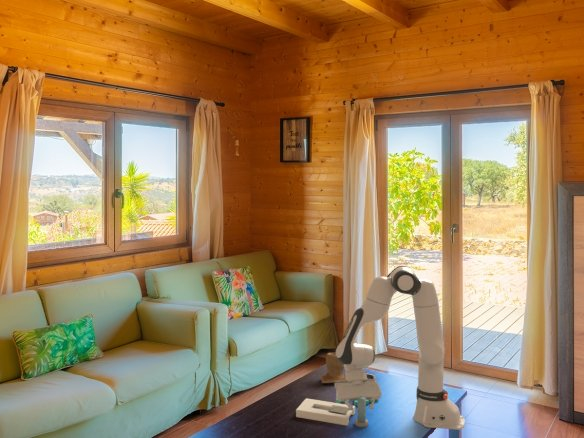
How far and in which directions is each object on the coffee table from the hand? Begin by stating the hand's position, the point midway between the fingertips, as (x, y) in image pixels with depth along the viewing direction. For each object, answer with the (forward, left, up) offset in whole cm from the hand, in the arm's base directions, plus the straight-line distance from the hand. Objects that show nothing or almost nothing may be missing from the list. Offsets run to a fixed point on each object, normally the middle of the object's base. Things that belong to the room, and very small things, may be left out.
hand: (361, 409), depth 245 cm
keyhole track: (+18, -4, -7) cm, 19 cm away
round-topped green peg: (0, 0, -7) cm, 7 cm away
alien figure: (+9, -29, -8) cm, 31 cm away
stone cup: (+27, -46, -7) cm, 54 cm away
